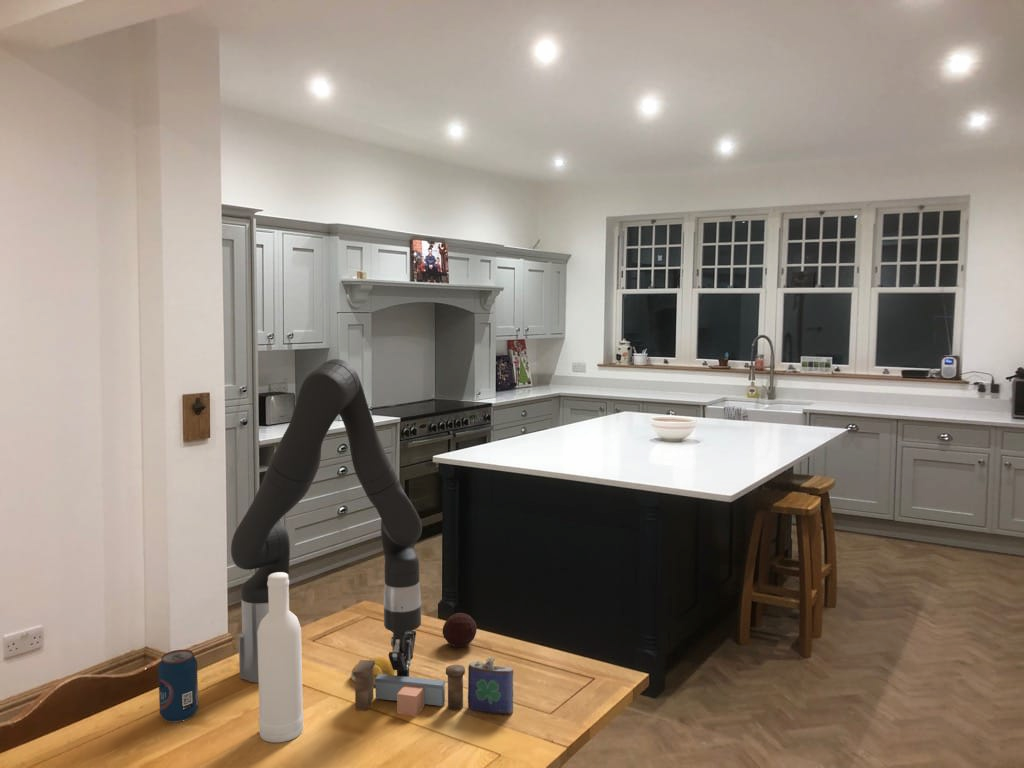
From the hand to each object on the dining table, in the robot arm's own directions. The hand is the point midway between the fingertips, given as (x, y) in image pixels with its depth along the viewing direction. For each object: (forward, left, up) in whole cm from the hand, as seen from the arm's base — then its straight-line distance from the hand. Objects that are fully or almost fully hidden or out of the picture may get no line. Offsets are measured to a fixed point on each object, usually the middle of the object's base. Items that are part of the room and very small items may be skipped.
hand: (403, 685), depth 166 cm
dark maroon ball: (+9, +24, -2) cm, 26 cm away
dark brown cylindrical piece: (+12, -6, -2) cm, 13 cm away
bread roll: (-8, +6, -2) cm, 10 cm away
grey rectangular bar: (+2, -4, -1) cm, 5 cm away
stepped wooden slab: (-7, -5, -2) cm, 9 cm away
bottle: (-19, -17, -2) cm, 26 cm away
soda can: (-41, -13, -2) cm, 43 cm away
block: (+3, -7, -2) cm, 8 cm away
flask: (+19, -6, -2) cm, 20 cm away
